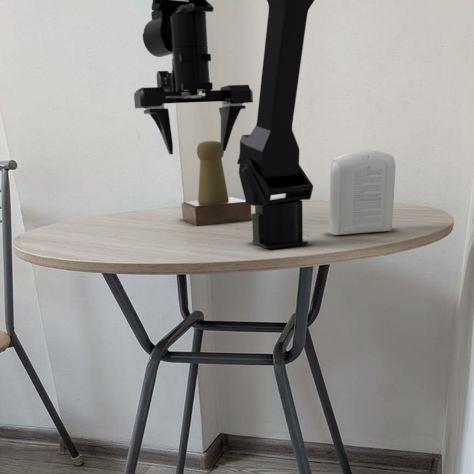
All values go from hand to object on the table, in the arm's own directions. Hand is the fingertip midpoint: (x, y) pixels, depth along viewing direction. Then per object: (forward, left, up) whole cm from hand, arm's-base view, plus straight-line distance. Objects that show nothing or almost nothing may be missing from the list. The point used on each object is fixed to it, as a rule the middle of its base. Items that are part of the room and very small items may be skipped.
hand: (197, 152), depth 98 cm
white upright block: (-21, +18, -13) cm, 31 cm away
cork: (-6, -12, -10) cm, 17 cm away
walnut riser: (-6, -11, -13) cm, 18 cm away
